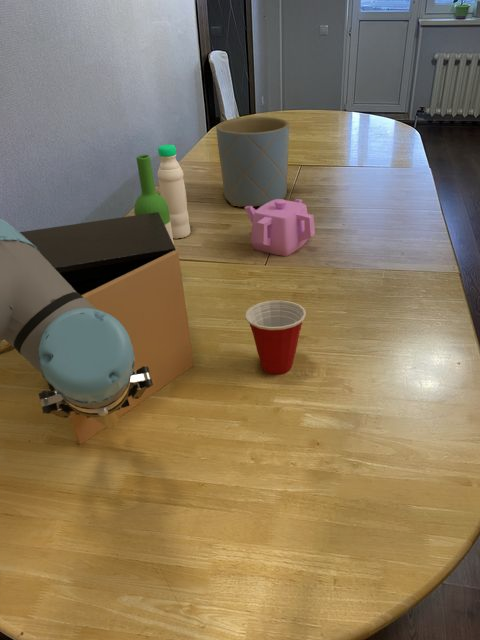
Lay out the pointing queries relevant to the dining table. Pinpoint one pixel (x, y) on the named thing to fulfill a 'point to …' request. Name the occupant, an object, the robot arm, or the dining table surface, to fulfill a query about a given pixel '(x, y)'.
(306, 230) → the teakettle
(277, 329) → the plastic cup
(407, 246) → the dining table surface
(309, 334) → the dining table surface
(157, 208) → the wine bottle
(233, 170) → the planter
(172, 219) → the water bottle
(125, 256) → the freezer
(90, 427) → the freezer door
